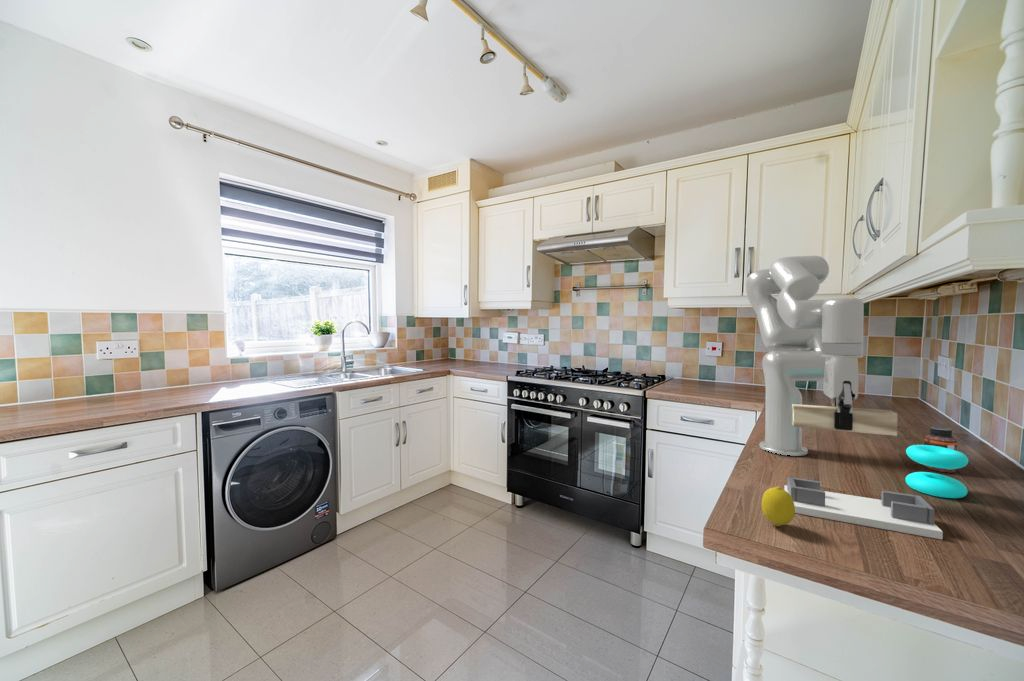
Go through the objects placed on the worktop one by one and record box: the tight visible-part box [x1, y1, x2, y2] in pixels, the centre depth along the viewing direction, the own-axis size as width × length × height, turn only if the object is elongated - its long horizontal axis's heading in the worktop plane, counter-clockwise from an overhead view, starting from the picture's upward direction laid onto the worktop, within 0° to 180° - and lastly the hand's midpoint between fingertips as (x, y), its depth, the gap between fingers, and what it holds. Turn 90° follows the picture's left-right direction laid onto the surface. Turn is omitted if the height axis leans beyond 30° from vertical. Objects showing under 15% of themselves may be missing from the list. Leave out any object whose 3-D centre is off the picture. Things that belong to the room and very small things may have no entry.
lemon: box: [761, 486, 796, 527], centre depth 78 cm, size 6×6×8 cm
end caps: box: [786, 476, 935, 525], centre depth 83 cm, size 7×22×3 cm, turn 61°
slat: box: [792, 404, 898, 437], centre depth 93 cm, size 4×19×5 cm, turn 61°
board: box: [783, 484, 944, 540], centre depth 83 cm, size 12×23×2 cm, turn 61°
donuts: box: [905, 444, 969, 499], centre depth 93 cm, size 10×10×10 cm
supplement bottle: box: [923, 426, 958, 474], centre depth 106 cm, size 6×6×11 cm
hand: (841, 426), depth 93 cm, fingers closed on slat, 3 cm apart
